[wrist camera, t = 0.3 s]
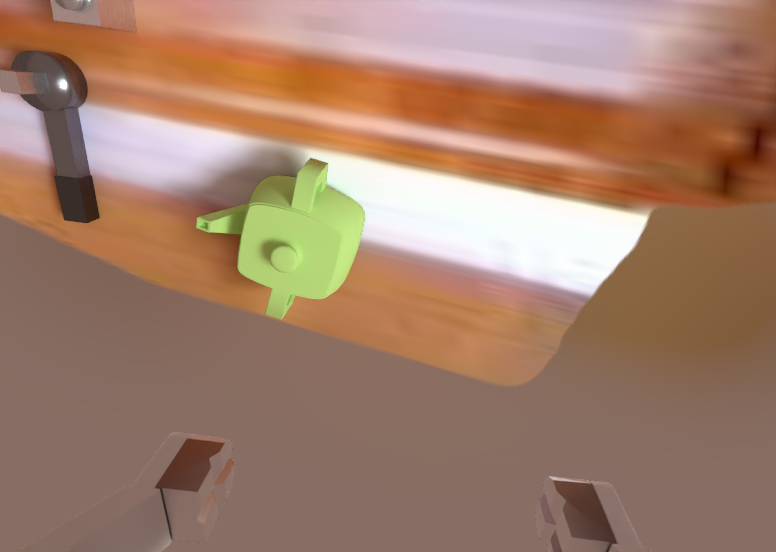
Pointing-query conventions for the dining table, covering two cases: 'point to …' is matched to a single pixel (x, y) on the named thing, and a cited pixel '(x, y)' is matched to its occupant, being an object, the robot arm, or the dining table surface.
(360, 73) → the dining table surface
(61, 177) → the ratchet
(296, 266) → the teapot
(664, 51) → the dining table surface
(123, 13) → the cube with grey knob
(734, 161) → the dining table surface
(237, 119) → the dining table surface
